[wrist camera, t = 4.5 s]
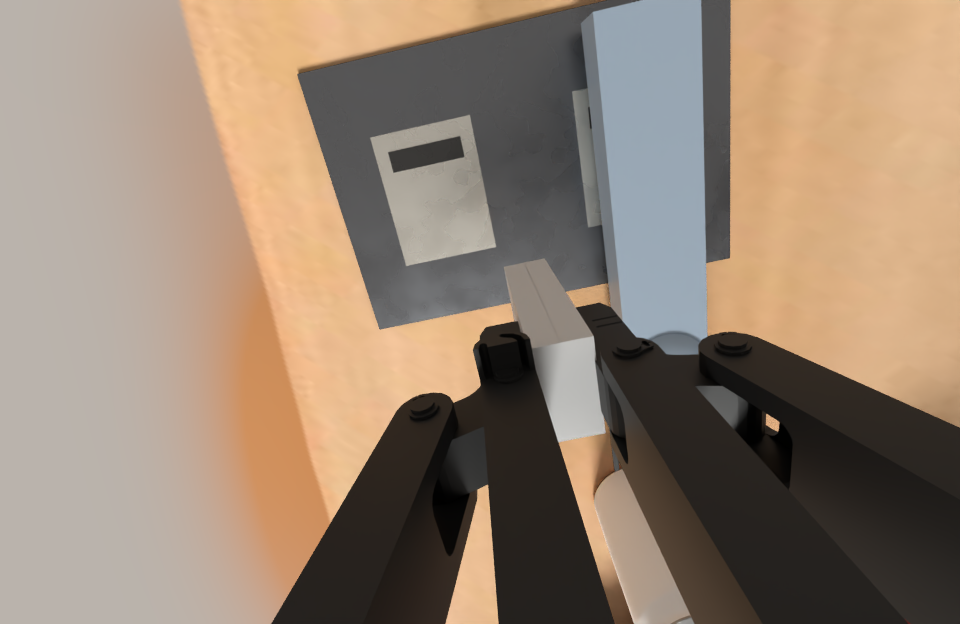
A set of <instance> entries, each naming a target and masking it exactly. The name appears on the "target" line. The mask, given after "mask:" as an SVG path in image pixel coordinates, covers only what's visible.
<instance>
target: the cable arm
mask: <svg viewBox="0 0 960 624" xmlns="http://www.w3.org/2000/svg"><path fill="white" fill-rule="evenodd" d="M581 30H582V39H583V49H584V58H585V67H586V77H587V86H588V96H589V105H590V115H591V124H592V134H593V143H594V152H595V162H596V171H597V181H598V190H599V200H600V209H601V218H602V228H603V237H604V247H605V256H606V266H607V275H608V284H609V294H610V303H611V308H612V309H613V310H614V311H615V312H616V314H617V315H618V316H619V317H620V318H621V320H622V321H623V322H624V323H625V324H626V326H627V327H628V328H629V329H630V330H631V332H632V333H633V334H634V335H635V336H636V337H639V338H645V339H648V340H652V341H653V342H655V343H656V344H657V345H659V347H660V348H661V349H662V350H663V351H664V352H665V353H666V354H669V355H691V354H698V344H699V343H700V342H701V340H702V339H704V338H706V337H707V289H706V235H705V181H704V127H703V74H702V20H701V0H641V1H637V2H632V3H628V4H624V5H620V6H616V7H611V8H607V9H603V10H599V11H595V12H592V13H591V14H590V15H589V16H588V17H587V18H586V19H585V20H584V21H583V22H582V23H581Z"/></svg>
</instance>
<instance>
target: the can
mask: <svg viewBox="0 0 960 624" xmlns="http://www.w3.org/2000/svg"><path fill="white" fill-rule="evenodd" d="M594 506H595V510H596V513H597V516H598V519H599V522H600V525H601V528H602V531H603V534H604V537H605V540H606V543H607V546H608V549H609V552H610V555H611V558H612V561H613V564H614V567H615V570H616V573H617V576H618V579H619V582H620V584H621V587H622V590H623V593H624V596H625V599H626V602H627V605H628V608H629V611H630V614H631V616H632V619H633V622H634V624H694V622H693V620H692V618H691V615H690V613H689V611H688V609H687V607H686V605H685V603H684V600H683V598H682V596H681V594H680V592H679V590H678V587H677V585H676V583H675V581H674V579H673V577H672V575H671V572H670V570H669V568H668V566H667V564H666V562H665V560H664V557H663V555H662V553H661V551H660V549H659V547H658V545H657V542H656V540H655V538H654V536H653V534H652V532H651V530H650V527H649V525H648V523H647V521H646V519H645V517H644V514H643V512H642V510H641V508H640V506H639V504H638V502H637V499H636V497H635V495H634V493H633V491H632V489H631V487H630V484H629V482H628V480H627V478H626V476H625V474H624V472H623V469H619V471H615V472H613V473H611V474H610V475H608V476H607V477H606V478H605V479H604V480H603V481H602V483H601V484H600V485H599V487H598V489H597V491H596V493H595V497H594Z"/></svg>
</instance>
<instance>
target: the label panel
mask: <svg viewBox="0 0 960 624" xmlns="http://www.w3.org/2000/svg"><path fill="white" fill-rule="evenodd" d="M637 1H641V0H606V1H602V2H598V3H594V4H590V5H585V6H581V7H577V8H573V9H569V10H565V11H560V12H556V13H552V14H548V15H544V16H539V17H535V18H531V19H527V20H523V21H518V22H514V23H510V24H506V25H502V26H497V27H493V28H489V29H485V30H481V31H476V32H472V33H468V34H464V35H460V36H455V37H451V38H447V39H443V40H439V41H434V42H430V43H426V44H422V45H418V46H414V47H409V48H405V49H401V50H397V51H393V52H388V53H384V54H380V55H376V56H372V57H367V58H363V59H359V60H355V61H351V62H346V63H342V64H338V65H334V66H330V67H325V68H321V69H317V70H313V71H309V72H304V73H300V74H297V76H298V79H299V82H300V85H301V88H302V91H303V94H304V97H305V100H306V103H307V106H308V110H309V113H310V116H311V119H312V122H313V125H314V128H315V131H316V134H317V137H318V140H319V144H320V147H321V150H322V153H323V156H324V159H325V162H326V165H327V168H328V171H329V174H330V178H331V181H332V184H333V187H334V190H335V193H336V196H337V199H338V202H339V205H340V208H341V212H342V215H343V218H344V221H345V224H346V227H347V230H348V233H349V236H350V239H351V243H352V246H353V249H354V252H355V255H356V258H357V261H358V264H359V267H360V270H361V273H362V277H363V280H364V283H365V286H366V289H367V292H368V295H369V298H370V301H371V304H372V307H373V311H374V314H375V317H376V320H377V323H378V326H379V329H384V328H389V327H394V326H399V325H404V324H409V323H414V322H419V321H424V320H429V319H433V318H438V317H443V316H448V315H453V314H458V313H463V312H468V311H473V310H478V309H483V308H487V307H492V306H497V305H502V304H507V303H511V301H510V296H509V291H508V286H507V281H506V276H505V271H504V267H506V266H510V265H515V264H520V263H525V262H529V261H534V260H539V259H543V258H545V260H546V262H547V263H548V265H549V266H550V268H551V269H552V271H553V273H554V274H555V276H556V277H557V279H558V280H559V282H560V284H561V285H562V287H563V288H564V290H565V292H566V291H571V290H576V289H581V288H586V287H590V286H595V285H600V284H605V283H608V275H607V266H606V256H605V247H604V237H603V228H602V218H601V209H600V200H599V190H598V181H597V171H596V162H595V152H594V143H593V134H592V124H591V115H590V105H589V96H588V86H587V77H586V67H585V58H584V49H583V39H582V30H581V23H582V22H583V21H584V20H585V19H586V18H587V17H588V16H589V15H590V14H591V13H592V12H595V11H599V10H603V9H607V8H611V7H616V6H620V5H624V4H628V3H632V2H637ZM701 20H702V74H703V127H704V181H705V235H706V263H708V262H713V261H718V260H723V259H728V258H730V0H701Z"/></svg>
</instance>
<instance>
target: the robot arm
mask: <svg viewBox="0 0 960 624" xmlns="http://www.w3.org/2000/svg"><path fill="white" fill-rule="evenodd" d="M504 271H505V276H506V281H507V286H508V291H509V296H510V301H511V306H512V312H513V317H514V322H510V323H505V324H500V325H495V326H490V327H486V328H485V329H484V331H483V332H482V334H481V335H480V340H479V341H478V342H477V343H476V344H475V346H474V349H473V352H474V356H475V361H476V365H477V369H478V373H479V377H480V382H481V386H480V387H479V388H478V389H477V390H476V392H474V393H473V394H471V395H470V396H468V397H466V398H464V399H462V400H460V401H457V402H455V403H453V401H452V400H451V398H450V397H449V396H447V395H445V394H442V393H428V394H421V395H418V396H416V397H414V398H412V399H410V400H409V401H407V402H406V403H404V404H403V405H402V406H401V407H400V408H399V409H398V410H397V411H396V413H395V415H394V417H393V418H392V420H391V422H390V423H389V425H388V427H387V428H386V430H385V432H384V434H383V435H382V437H381V439H380V440H379V442H378V444H377V445H376V447H375V449H374V450H373V452H372V454H371V456H370V457H369V459H368V461H367V462H366V464H365V466H364V467H363V469H362V471H361V473H360V474H359V476H358V478H357V479H356V481H355V483H354V484H353V486H352V488H351V490H350V491H349V493H348V495H347V496H346V498H345V500H344V501H343V503H342V505H341V506H340V508H339V510H338V512H337V513H336V515H335V517H334V518H333V520H332V522H331V523H330V525H329V527H328V529H327V530H326V532H325V534H324V535H323V537H322V539H321V541H320V542H319V544H318V546H317V547H316V549H315V551H314V552H313V554H312V556H311V557H310V559H309V561H308V563H307V564H306V566H305V568H304V569H303V571H302V573H301V574H300V576H299V578H298V579H297V581H296V583H295V585H294V586H293V588H292V590H291V591H290V593H289V595H288V596H287V598H286V600H285V601H284V603H283V605H282V607H281V608H280V610H279V612H278V613H277V615H276V617H275V618H274V620H273V622H272V624H445V623H446V619H447V615H448V611H449V607H450V603H451V599H452V595H453V592H454V588H455V584H456V580H457V576H458V572H459V568H460V564H461V560H462V556H463V552H464V549H465V545H466V541H467V537H468V533H469V529H470V525H471V521H472V517H473V513H474V509H475V505H476V502H477V489H479V488H481V487H483V486H485V485H488V488H489V501H490V514H491V528H492V541H493V554H494V567H495V580H496V594H497V607H498V620H499V624H615V623H614V620H613V617H612V614H611V610H610V607H609V604H608V601H607V598H606V594H605V591H604V588H603V585H602V581H601V578H600V575H599V572H598V569H597V565H596V562H595V559H594V556H593V552H592V549H591V546H590V543H589V539H588V536H587V533H586V530H585V527H584V523H583V520H582V517H581V514H580V510H579V507H578V504H577V501H576V498H575V494H574V491H573V488H572V485H571V481H570V478H569V475H568V472H567V469H566V465H565V462H564V459H563V456H562V452H561V449H560V446H559V443H558V442H562V441H567V440H572V439H578V438H583V437H588V436H593V435H598V434H604V433H606V432H605V424H604V418H605V420H606V422H607V424H608V426H609V429H610V438H611V446H612V454H613V463H614V470H615V471H619V463H620V465H621V467H622V469H623V472H624V474H625V476H626V478H627V480H628V482H629V484H630V487H631V489H632V491H633V493H634V495H635V497H636V499H637V502H638V504H639V506H640V508H641V510H642V512H643V514H644V517H645V519H646V521H647V523H648V525H649V527H650V530H651V532H652V534H653V536H654V538H655V540H656V542H657V545H658V547H659V549H660V551H661V553H662V555H663V557H664V560H665V562H666V564H667V566H668V568H669V570H670V572H671V575H672V577H673V579H674V581H675V583H676V585H677V587H678V590H679V592H680V594H681V596H682V598H683V600H684V603H685V605H686V607H687V609H688V611H689V613H690V615H691V618H692V620H693V622H694V624H908V622H909V623H910V624H960V428H959V427H957V426H955V425H952V424H950V423H948V422H946V421H943V420H941V419H939V418H937V417H934V416H932V415H930V414H928V413H925V412H923V411H921V410H919V409H917V408H914V407H912V406H910V405H908V404H905V403H903V402H901V401H899V400H896V399H894V398H892V397H890V396H887V395H885V394H883V393H881V392H879V391H876V390H874V389H872V388H870V387H867V386H865V385H863V384H861V383H858V382H856V381H854V380H852V379H849V378H847V377H845V376H843V375H841V374H838V373H836V372H834V371H832V370H829V369H827V368H825V367H823V366H820V365H818V364H816V363H814V362H811V361H809V360H807V359H805V358H803V357H800V356H798V355H796V354H794V353H791V352H789V351H787V350H785V349H782V348H780V347H778V346H776V345H773V344H771V343H769V342H767V341H765V340H762V339H760V338H758V337H755V336H751V335H748V334H742V333H737V332H728V333H727V332H722V333H719V334H714V335H710V336H708V337H706V338H704V339H702V340H701V342H700V343H699V344H698V354H691V355H669V354H666V353H665V352H664V351H663V350H662V349H661V348H660V347H659V345H657V344H656V343H655V342H653V341H652V340H648V339H645V338H639V337H636V336H635V335H634V334H633V333H632V332H631V330H630V329H629V328H628V327H627V326H626V324H625V323H624V322H623V321H622V320H621V318H620V317H619V316H618V315H617V314H616V312H615V311H614V310H613V309H612V308H611V307H609V306H606V305H604V304H601V303H596V304H591V305H586V306H581V307H575V306H574V304H573V303H572V301H571V299H570V298H569V296H568V295H567V293H566V292H565V290H564V288H563V287H562V285H561V284H560V282H559V280H558V279H557V277H556V276H555V274H554V273H553V271H552V269H551V268H550V266H549V265H548V263H547V262H546V260H545V258H543V259H539V260H534V261H529V262H525V263H520V264H515V265H510V266H506V267H504ZM766 413H767V414H768V415H770V416H772V417H773V418H775V419H776V420H778V421H779V422H780V424H779V431H778V432H777V431H775V430H773V429H771V428H770V427H768V426H766ZM906 620H907V621H908V622H907V621H906Z"/></svg>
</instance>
